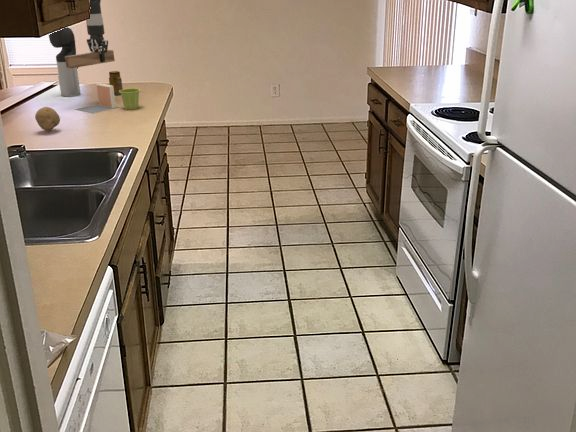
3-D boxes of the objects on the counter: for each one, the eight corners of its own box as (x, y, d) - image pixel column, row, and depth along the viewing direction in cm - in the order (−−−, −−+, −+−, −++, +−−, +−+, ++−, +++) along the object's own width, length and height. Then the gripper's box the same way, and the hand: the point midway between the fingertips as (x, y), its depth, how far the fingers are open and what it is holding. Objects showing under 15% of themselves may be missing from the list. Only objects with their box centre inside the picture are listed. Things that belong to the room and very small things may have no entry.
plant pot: (116, 110, 282) (114, 91, 279) (130, 106, 290) (128, 87, 287) (132, 112, 278) (130, 93, 275) (146, 107, 286) (144, 89, 283)
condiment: (120, 93, 317) (117, 70, 312) (127, 96, 311) (125, 72, 306) (107, 95, 313) (104, 71, 308) (114, 98, 307) (111, 74, 302)
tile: (98, 105, 289) (95, 84, 285) (102, 104, 290) (99, 83, 287) (112, 108, 283) (109, 86, 279) (116, 107, 285) (113, 85, 281)
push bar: (66, 67, 279) (64, 56, 277) (110, 60, 297) (108, 49, 295) (71, 68, 277) (69, 57, 275) (114, 61, 295) (113, 50, 293)
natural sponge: (54, 127, 255) (50, 103, 252) (66, 130, 250) (62, 106, 246) (34, 132, 249) (29, 107, 245) (45, 135, 244) (41, 110, 240)
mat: (74, 110, 283) (74, 109, 282) (101, 104, 294) (101, 103, 293) (93, 114, 275) (92, 113, 274) (120, 108, 286) (119, 107, 285)
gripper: (78, 24, 285) (84, 61, 292) (97, 25, 277) (102, 64, 284) (92, 22, 291) (97, 59, 297) (111, 23, 282) (116, 62, 289)
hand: (100, 61), depth 290 cm, fingers closed on push bar, 3 cm apart
